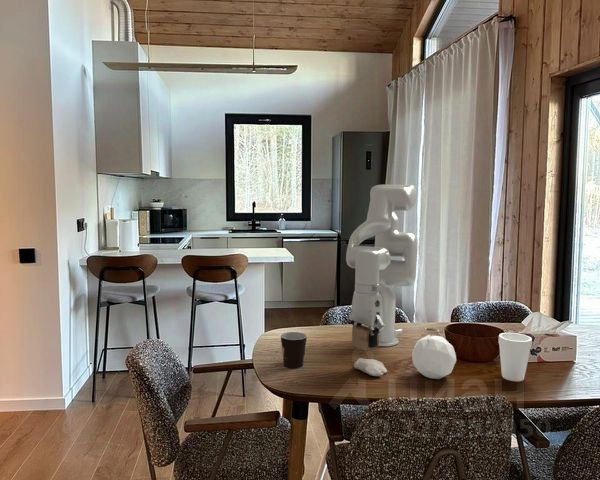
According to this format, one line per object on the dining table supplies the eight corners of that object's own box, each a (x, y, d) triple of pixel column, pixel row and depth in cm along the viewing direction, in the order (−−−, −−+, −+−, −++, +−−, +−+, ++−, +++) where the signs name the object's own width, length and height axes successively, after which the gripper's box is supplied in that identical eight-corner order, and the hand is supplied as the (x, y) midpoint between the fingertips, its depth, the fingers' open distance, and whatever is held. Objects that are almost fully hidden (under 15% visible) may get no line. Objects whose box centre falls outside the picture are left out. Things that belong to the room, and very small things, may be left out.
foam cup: (526, 385, 150) (529, 343, 148) (494, 379, 155) (496, 338, 153) (531, 375, 158) (533, 335, 156) (500, 369, 163) (502, 330, 161)
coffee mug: (303, 370, 160) (304, 340, 159) (277, 368, 161) (277, 338, 160) (310, 358, 171) (310, 330, 170) (285, 356, 173) (286, 328, 172)
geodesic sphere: (450, 373, 143) (456, 329, 150) (403, 365, 149) (411, 323, 156) (455, 388, 154) (461, 346, 161) (411, 380, 161) (419, 340, 167)
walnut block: (365, 342, 164) (366, 324, 163) (378, 347, 159) (379, 328, 158) (351, 345, 160) (352, 327, 160) (365, 350, 155) (365, 331, 155)
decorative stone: (387, 381, 153) (384, 368, 168) (390, 369, 153) (386, 357, 168) (352, 375, 154) (352, 362, 169) (355, 363, 154) (354, 351, 169)
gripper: (395, 292, 153) (393, 349, 155) (356, 283, 167) (355, 335, 169) (378, 294, 149) (376, 353, 150) (339, 285, 162) (338, 339, 164)
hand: (365, 343), depth 160 cm, fingers closed on walnut block, 6 cm apart
